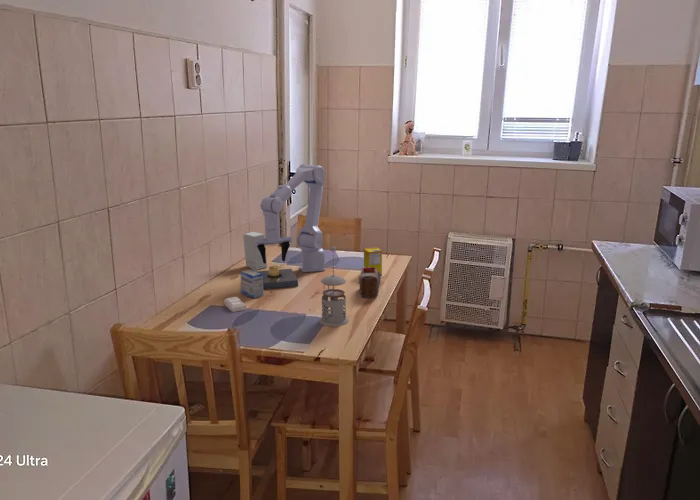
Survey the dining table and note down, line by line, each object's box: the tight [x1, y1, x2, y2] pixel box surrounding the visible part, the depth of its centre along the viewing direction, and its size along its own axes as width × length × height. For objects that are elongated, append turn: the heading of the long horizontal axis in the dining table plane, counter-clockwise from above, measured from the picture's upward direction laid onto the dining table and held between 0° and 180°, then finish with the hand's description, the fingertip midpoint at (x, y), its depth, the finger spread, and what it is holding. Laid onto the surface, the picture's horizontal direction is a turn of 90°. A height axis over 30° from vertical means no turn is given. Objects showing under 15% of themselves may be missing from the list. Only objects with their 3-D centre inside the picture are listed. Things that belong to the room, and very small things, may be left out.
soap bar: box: [223, 296, 247, 313], centre depth 197 cm, size 5×9×3 cm, turn 29°
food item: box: [358, 267, 382, 299], centre depth 210 cm, size 14×8×10 cm, turn 178°
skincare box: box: [242, 231, 268, 271], centre depth 242 cm, size 8×6×15 cm
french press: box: [318, 246, 350, 327], centre depth 182 cm, size 10×12×25 cm
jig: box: [251, 267, 299, 290], centre depth 223 cm, size 16×16×4 cm
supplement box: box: [363, 246, 383, 277], centre depth 231 cm, size 6×6×11 cm
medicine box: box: [240, 269, 264, 299], centre depth 208 cm, size 8×4×9 cm, turn 47°
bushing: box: [268, 265, 280, 278], centre depth 224 cm, size 4×4×6 cm
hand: (274, 261), depth 222 cm, fingers open, 7 cm apart
